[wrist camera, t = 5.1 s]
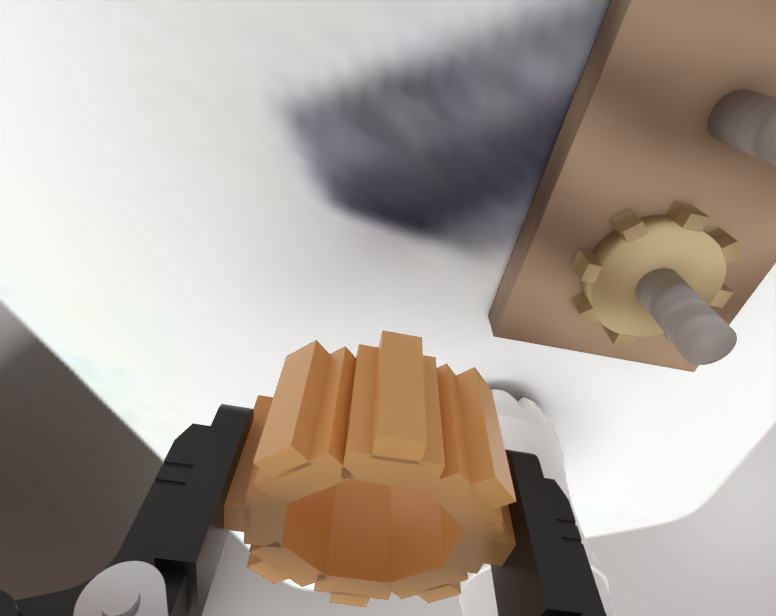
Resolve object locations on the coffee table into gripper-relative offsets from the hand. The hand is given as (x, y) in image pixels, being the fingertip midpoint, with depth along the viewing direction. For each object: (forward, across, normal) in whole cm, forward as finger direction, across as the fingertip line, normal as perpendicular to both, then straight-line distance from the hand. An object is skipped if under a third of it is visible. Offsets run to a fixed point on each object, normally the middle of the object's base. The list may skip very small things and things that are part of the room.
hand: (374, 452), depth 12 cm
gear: (+1, 0, 0) cm, 1 cm away
